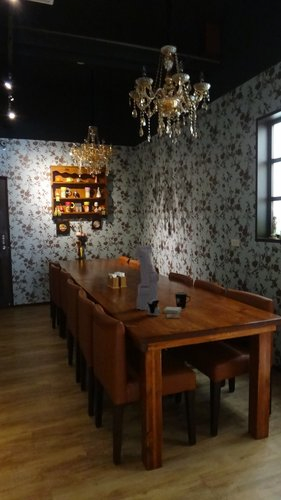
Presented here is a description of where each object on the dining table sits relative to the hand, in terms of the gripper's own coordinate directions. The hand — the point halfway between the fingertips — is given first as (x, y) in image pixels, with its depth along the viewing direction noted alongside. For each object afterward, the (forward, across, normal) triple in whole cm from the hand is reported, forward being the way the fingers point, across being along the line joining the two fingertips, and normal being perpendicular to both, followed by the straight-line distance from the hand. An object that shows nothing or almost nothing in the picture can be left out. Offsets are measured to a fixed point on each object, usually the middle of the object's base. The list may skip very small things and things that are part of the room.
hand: (153, 312), depth 216 cm
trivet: (+2, -1, -13) cm, 13 cm away
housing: (+2, 0, 0) cm, 2 cm away
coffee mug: (+2, +25, -14) cm, 29 cm away
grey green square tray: (+2, +12, -10) cm, 16 cm away
